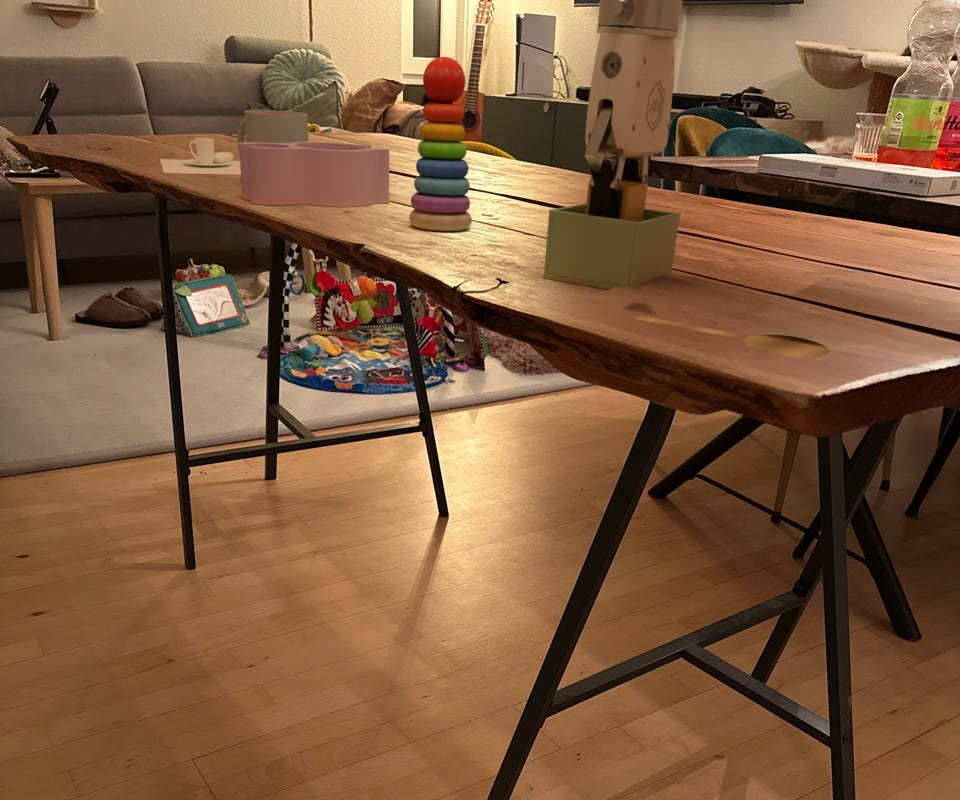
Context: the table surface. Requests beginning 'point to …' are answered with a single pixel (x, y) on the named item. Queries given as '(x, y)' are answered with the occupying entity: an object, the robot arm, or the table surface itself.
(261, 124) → the mug
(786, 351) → the spoon
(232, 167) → the teacup and saucer
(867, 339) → the table surface
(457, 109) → the stacking toy
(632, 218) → the block
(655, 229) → the open top crate
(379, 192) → the pink twin-well planter
